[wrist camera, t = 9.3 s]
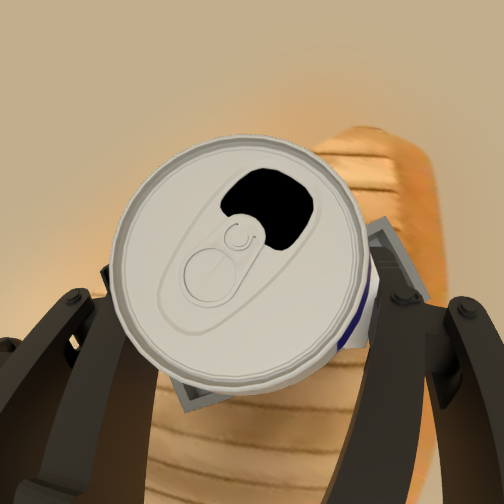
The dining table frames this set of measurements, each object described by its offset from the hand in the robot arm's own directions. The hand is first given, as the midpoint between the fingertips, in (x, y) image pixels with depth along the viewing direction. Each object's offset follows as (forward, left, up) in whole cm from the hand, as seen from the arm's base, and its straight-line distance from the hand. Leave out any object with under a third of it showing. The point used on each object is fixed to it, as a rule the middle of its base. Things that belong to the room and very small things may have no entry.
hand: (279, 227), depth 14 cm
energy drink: (-2, -3, -4) cm, 5 cm away
